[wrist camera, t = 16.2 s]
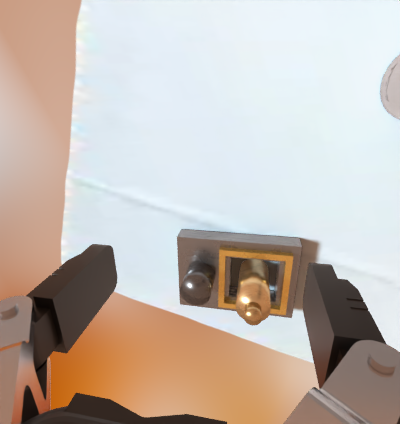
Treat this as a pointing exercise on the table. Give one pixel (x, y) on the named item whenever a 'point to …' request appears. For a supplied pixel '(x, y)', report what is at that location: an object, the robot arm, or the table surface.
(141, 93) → the table surface
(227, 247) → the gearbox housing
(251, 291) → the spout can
